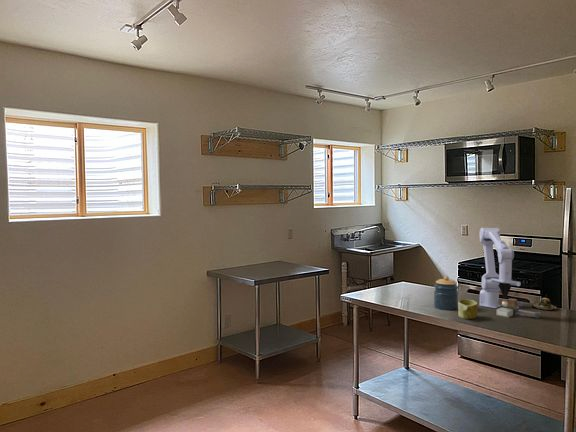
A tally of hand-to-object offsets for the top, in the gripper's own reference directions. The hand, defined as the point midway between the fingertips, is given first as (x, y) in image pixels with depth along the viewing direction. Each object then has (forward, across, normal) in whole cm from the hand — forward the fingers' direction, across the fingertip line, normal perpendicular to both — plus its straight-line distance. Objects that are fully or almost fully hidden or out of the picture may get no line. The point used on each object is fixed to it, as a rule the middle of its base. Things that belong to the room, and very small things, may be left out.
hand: (504, 297), depth 236 cm
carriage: (+9, 0, +8) cm, 12 cm away
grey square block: (+9, 0, 0) cm, 9 cm away
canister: (+9, -29, -7) cm, 31 cm away
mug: (+9, -11, -19) cm, 24 cm away
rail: (+9, +5, +8) cm, 13 cm away
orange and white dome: (+4, 0, 0) cm, 4 cm away
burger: (+10, +9, +30) cm, 33 cm away
